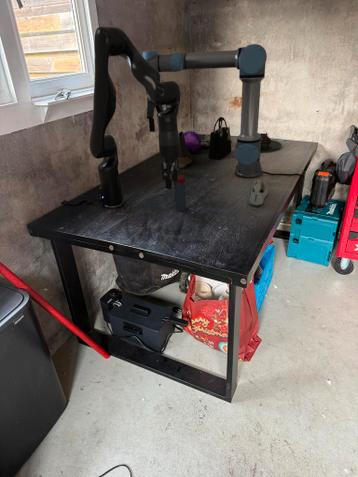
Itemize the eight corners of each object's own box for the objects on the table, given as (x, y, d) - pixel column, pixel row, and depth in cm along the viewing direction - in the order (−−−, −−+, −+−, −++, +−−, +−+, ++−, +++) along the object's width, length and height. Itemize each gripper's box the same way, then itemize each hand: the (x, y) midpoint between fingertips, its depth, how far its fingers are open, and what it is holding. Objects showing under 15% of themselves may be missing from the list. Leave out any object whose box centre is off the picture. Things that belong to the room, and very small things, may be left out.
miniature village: (250, 138, 260) (251, 126, 256) (289, 145, 237) (291, 132, 233) (223, 147, 242) (223, 134, 237) (263, 155, 219) (264, 141, 215)
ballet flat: (269, 188, 169) (270, 173, 165) (265, 208, 149) (266, 191, 145) (252, 187, 171) (253, 172, 167) (246, 206, 151) (247, 190, 147)
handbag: (219, 160, 215) (219, 120, 202) (207, 158, 219) (206, 119, 207) (232, 152, 230) (233, 114, 217) (220, 150, 234) (221, 113, 222)
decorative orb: (204, 151, 235) (204, 129, 228) (194, 156, 225) (193, 134, 217) (186, 149, 243) (186, 128, 235) (175, 154, 232) (174, 132, 224)
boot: (194, 157, 223) (193, 127, 213) (188, 169, 203) (187, 135, 193) (182, 157, 225) (180, 127, 215) (174, 168, 205) (172, 136, 194)
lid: (171, 181, 147) (170, 176, 146) (181, 178, 149) (181, 174, 148) (176, 184, 143) (176, 180, 142) (187, 181, 145) (187, 177, 144)
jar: (174, 209, 154) (171, 177, 146) (182, 206, 156) (181, 175, 148) (178, 212, 150) (176, 180, 142) (187, 210, 152) (186, 178, 144)
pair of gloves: (198, 150, 238) (197, 143, 235) (183, 143, 258) (183, 136, 256) (233, 144, 247) (234, 137, 245) (217, 137, 268) (217, 131, 265)
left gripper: (165, 137, 126) (168, 177, 134) (152, 147, 114) (157, 190, 122) (184, 137, 124) (185, 178, 132) (173, 147, 112) (176, 191, 121)
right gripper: (153, 83, 178) (157, 124, 189) (137, 88, 157) (141, 134, 168) (167, 82, 176) (169, 123, 187) (151, 88, 156) (155, 134, 166)
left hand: (172, 184), depth 127 cm, fingers open, 8 cm apart
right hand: (156, 128), depth 177 cm, fingers open, 13 cm apart
